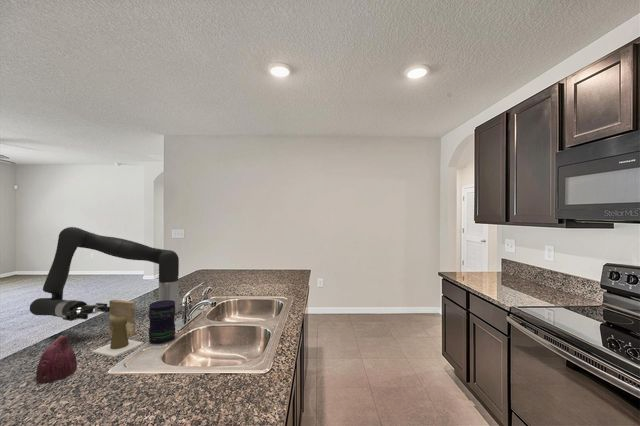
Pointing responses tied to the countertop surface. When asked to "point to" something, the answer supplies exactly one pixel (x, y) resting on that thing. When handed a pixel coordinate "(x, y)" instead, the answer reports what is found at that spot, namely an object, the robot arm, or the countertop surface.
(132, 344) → the coaster
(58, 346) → the vegetable
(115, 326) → the cork
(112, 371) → the countertop surface
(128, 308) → the maple board
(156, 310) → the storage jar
